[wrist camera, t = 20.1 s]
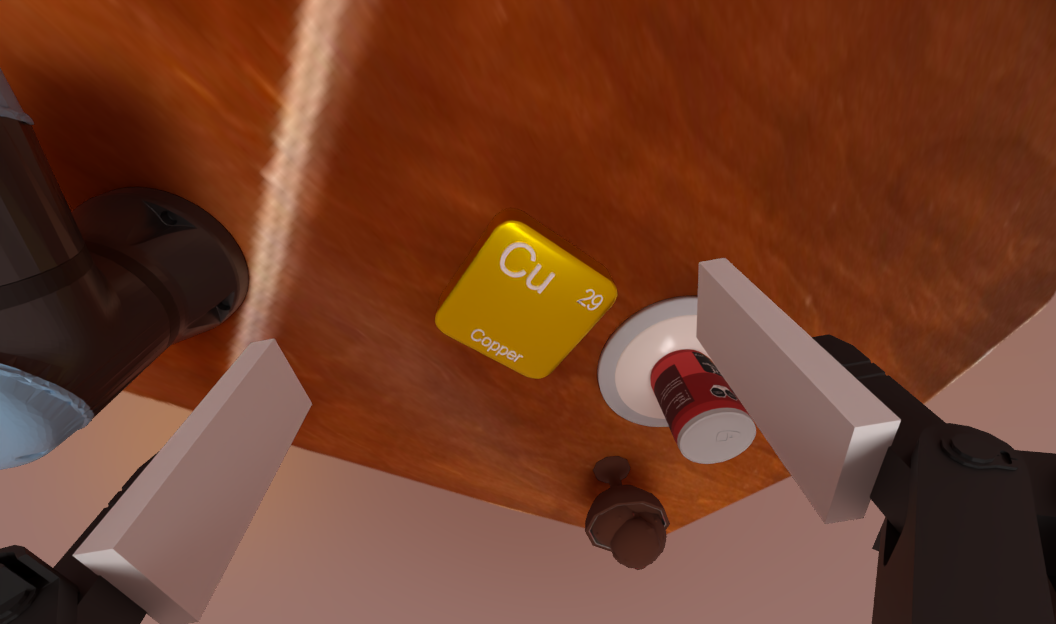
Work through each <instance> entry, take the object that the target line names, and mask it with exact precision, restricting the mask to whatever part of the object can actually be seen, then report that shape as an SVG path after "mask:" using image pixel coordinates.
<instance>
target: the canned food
mask: <svg viewBox="0 0 1056 624" xmlns="http://www.w3.org/2000/svg"><path fill="white" fill-rule="evenodd" d="M650 381H651V387H652V389H653V392H654V394H655V396H656V398H657V401H658V403H659V405H660V407H661V410H662V412H663V414H664V416H665V419H666V421H667V423H668V426H669V428H670V430H671V432H672V435H673V437H674V439H675V441H676V443H677V445H678V447H679V449H680V451H681V453H682V454H683V455H684V456H685V457H686V458H687V459H689V460H691V461H693V462H697V463H703V464H711V463H718V462H722V461H726V460H729V459H731V458H733V457H735V456H737V455H739V454H740V453H742V452H743V451H744V450H746V449H747V448H748V447H749V445H750V444H751V443H752V441H753V440H754V437H755V435H756V427H755V424H754V423H753V420H752V418H751V417H750V415H749V414H748V412H747V411H746V409H745V408H744V406H743V405H742V403H741V402H740V400H739V399H738V398H737V396H736V395H735V393H734V392H733V390H732V389H731V387H730V386H729V385H728V383H727V382H726V380H725V379H724V377H723V376H722V374H721V373H720V372H719V370H718V369H717V367H716V366H715V364H714V363H713V361H712V360H711V359H710V358H709V357H708V356H706V355H705V354H703V353H701V352H699V351H696V350H690V349H685V350H678V351H674V352H672V353H669V354H667V355H665V356H664V357H663V358H661V359H660V360H659V361H658V362H657V363H656V364H655V366H654V367H653V369H652V371H651V376H650Z"/></svg>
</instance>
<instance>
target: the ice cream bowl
mask: <svg viewBox="0 0 1056 624" xmlns="http://www.w3.org/2000/svg"><path fill="white" fill-rule="evenodd" d="M593 471H594V473H595V476H596V478H597V479H598V480H600V481H602V482H605V483H609V484H610V487H611V488H609V489H608V490H606V491H604V492H602V493H600V494H599V495H598V496H597V497H596V499H595V500H594V502H593V504H592V506H591V508H590V510H589V512H588V514H587V518H586V522H585V532H586V534H587V536H588V537H589V539H590V541H591V543H592V545H593V546H596V547H599V548H602V549H605V550H608V551H611V552H612V553H613V557H614V558H615V559H616V560H617V561H618V562H619V563H620V564H623V565H625V566H626V567H628V568H635V569H637V570H640V569H643V568H645V567H646V566H647V565H649V564H652V563H653V561H655V560H656V559H657V557H658V556H659V555H660V554H661V553H662V552H663V549H664V547H665V542H666V531H665V530H666V529H667V527H668V526H669V524H670V523H669V520H668V518H667V515H666V512H665V510H664V508H663V506H662V504H661V503H660V501H659V500H658V499H657V498H656V497H655V496H654V495H653V494H652V493H649V492H647V491H644V490H642V489H639V488H637V487H634V486H632V485H622V483H621V480H622V479H624V478H626V476H627V474H628V473H629V471H630V466H629V463H628V461H627V460H626V459H624V458H622V457H619V456H613V457H606V458H604V459H602V460H600V461H599V462H597V463H596V465H595V467H594V469H593Z"/></svg>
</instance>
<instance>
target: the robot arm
mask: <svg viewBox="0 0 1056 624" xmlns="http://www.w3.org/2000/svg"><path fill="white" fill-rule="evenodd" d="M31 125H34V122H33V120H32V118H31V117H30V116H28V115H27V114H26V113H24V112H23V110H22V108H21V106H20V104H19V102H18V101H17V99H16V97H15V95H14V93H13V91H12V89H11V87H10V85H9V84H8V82H7V80H6V78H5V76H4V74H3V72H2V70H1V69H0V470H1V469H7V468H12V467H17V466H21V465H24V464H27V463H30V462H33V461H35V460H37V459H39V458H41V457H43V456H45V455H46V454H48V453H49V452H50V451H52V450H53V449H55V448H56V447H57V446H58V445H59V444H61V443H62V442H63V441H64V440H66V439H67V438H68V437H69V436H71V435H72V434H73V433H74V432H76V431H77V430H79V429H82V428H84V427H85V426H87V425H88V423H89V422H90V421H92V419H93V418H94V417H95V416H96V415H97V414H98V413H99V412H100V411H101V410H102V409H103V408H104V407H105V406H106V405H108V404H109V403H110V402H111V401H112V400H113V399H114V398H115V397H116V396H117V395H118V394H119V393H120V392H121V391H122V390H123V389H125V388H126V387H127V386H128V385H129V384H130V383H131V382H132V381H133V380H134V379H135V378H136V377H137V376H138V375H139V374H140V373H141V372H143V371H144V370H145V369H146V368H147V367H148V366H149V365H150V364H151V363H152V362H153V361H154V360H155V359H156V358H157V357H158V356H159V355H160V354H161V353H162V352H164V351H165V350H166V349H167V348H168V347H169V346H170V345H172V344H174V343H177V342H180V341H182V340H185V339H187V338H190V337H192V336H195V335H198V334H200V333H203V332H205V331H208V330H210V329H213V328H215V327H216V326H218V325H220V324H221V323H223V322H224V321H225V320H226V319H227V318H228V317H229V316H230V315H231V314H232V313H233V312H235V311H236V310H237V308H238V307H239V306H240V305H241V303H242V302H243V300H244V298H245V296H246V293H247V289H248V270H247V266H246V262H245V259H244V257H243V254H242V252H241V250H240V248H239V247H238V245H237V243H236V242H235V240H234V239H233V238H232V236H231V235H230V234H229V233H228V231H227V230H226V229H225V228H224V227H223V226H222V225H221V224H220V223H219V222H218V221H217V220H216V219H214V218H213V217H212V216H211V215H210V214H208V213H207V212H205V211H204V210H203V209H201V208H200V207H198V206H196V205H195V204H193V203H191V202H189V201H187V200H185V199H183V198H181V197H179V196H176V195H173V194H171V193H168V192H164V191H161V190H156V189H151V188H143V187H128V188H120V189H116V190H112V191H109V192H107V193H104V194H101V195H99V196H96V197H93V198H91V199H89V200H87V201H86V202H84V203H82V204H81V205H80V206H78V207H77V208H76V209H75V210H74V211H73V212H72V213H71V211H70V209H69V207H68V204H67V202H66V200H65V198H64V196H63V193H62V191H61V189H60V187H59V185H58V183H57V180H56V178H55V176H54V174H53V172H52V169H51V167H50V165H49V163H48V161H47V158H46V156H45V154H44V152H43V150H42V148H41V145H40V143H39V141H38V139H37V137H36V134H35V132H34V130H33V128H32V126H31ZM696 338H697V339H698V341H699V342H700V344H701V345H702V346H703V348H704V349H705V351H706V352H707V354H708V355H709V357H710V358H711V359H712V361H713V362H714V364H715V365H716V367H717V368H718V370H719V371H720V373H721V374H722V375H723V377H724V378H725V380H726V381H727V383H728V384H729V386H730V387H731V389H732V390H733V391H734V393H735V394H736V396H737V397H738V399H739V400H740V402H741V403H742V404H743V406H744V407H745V409H746V410H747V412H748V413H749V415H750V416H751V418H752V419H753V420H754V422H755V423H756V425H757V426H758V428H759V429H760V431H761V432H762V434H763V435H764V436H765V438H766V439H767V441H768V442H769V444H770V445H771V447H772V448H773V449H774V451H775V452H776V454H777V455H778V457H779V458H780V460H781V461H782V463H783V464H784V465H785V467H786V468H787V470H788V471H789V473H790V474H791V476H792V477H793V479H794V480H795V481H796V483H797V484H798V486H799V487H800V489H801V490H802V492H803V493H804V494H805V496H806V497H807V499H808V500H809V502H810V503H811V505H812V506H813V507H814V509H815V510H816V512H817V513H818V515H819V516H820V517H821V519H822V521H823V522H824V523H825V524H829V523H835V522H841V521H848V520H854V519H861V518H864V516H865V513H866V510H867V508H868V505H869V502H870V500H872V501H873V502H874V503H875V505H876V506H877V507H878V508H879V509H880V511H881V512H882V513H883V514H884V515H885V520H884V522H883V524H882V527H881V529H880V532H879V534H878V536H877V538H876V541H875V543H874V546H873V548H872V549H875V550H877V551H879V557H878V567H877V578H876V587H875V597H874V608H873V617H872V624H1056V454H1053V453H1042V452H1030V451H1019V450H1014V449H1013V448H1012V447H1011V446H1010V445H1008V444H1007V443H1005V442H1004V441H1002V440H1000V439H998V438H996V437H995V436H993V435H991V434H989V433H987V432H984V431H981V430H978V429H975V428H972V427H969V426H963V425H958V424H951V423H945V422H944V421H943V420H941V419H940V418H939V417H938V416H937V415H935V414H934V413H933V412H932V411H931V410H929V409H928V408H927V407H926V406H925V405H924V404H922V403H921V402H920V401H919V400H918V399H916V398H915V397H914V396H913V395H912V394H910V393H909V392H908V391H907V390H906V389H904V388H903V387H902V386H901V385H900V384H898V383H897V382H896V381H895V380H894V379H892V378H891V377H890V376H889V375H888V376H886V375H885V372H884V371H883V370H882V369H880V368H879V367H878V366H877V365H876V364H874V363H871V362H870V359H868V358H867V357H866V356H865V355H864V354H862V353H861V352H860V351H859V350H858V349H856V348H855V347H854V346H853V345H851V344H849V343H846V342H844V341H842V340H840V339H838V338H836V337H834V336H831V335H823V336H817V337H810V336H809V335H808V334H807V333H806V332H805V331H804V330H803V329H802V328H801V327H800V326H799V325H797V324H796V323H795V322H794V321H793V320H792V319H791V318H790V317H789V316H788V315H787V314H785V313H784V312H783V311H782V310H781V309H780V308H779V307H778V306H777V305H776V304H775V303H773V302H772V301H771V300H770V299H769V298H768V297H767V296H766V295H765V294H764V293H763V292H762V291H760V290H759V289H758V288H757V287H756V286H755V285H754V284H753V283H752V282H751V281H750V280H748V279H747V278H746V277H745V276H744V275H743V274H742V273H741V272H740V271H739V270H738V269H737V268H735V267H734V266H733V265H732V264H731V263H730V262H729V261H728V260H727V259H726V258H720V259H715V260H709V261H704V262H699V277H698V304H697V330H696ZM311 405H312V403H311V401H310V399H309V397H308V396H307V394H306V392H305V390H304V389H303V387H302V385H301V384H300V382H299V380H298V378H297V377H296V375H295V373H294V371H293V370H292V368H291V366H290V365H289V363H288V361H287V359H286V358H285V356H284V354H283V352H282V351H281V349H280V347H279V346H278V344H277V342H276V340H275V339H269V340H263V341H257V342H252V343H250V344H249V345H248V346H247V348H246V349H245V350H244V351H243V352H242V354H241V355H240V356H239V357H238V358H237V359H236V361H235V362H234V363H233V364H232V365H231V367H230V368H229V369H228V370H227V371H226V373H225V374H224V375H223V376H222V377H221V379H220V380H219V381H218V382H217V383H216V385H215V386H214V387H213V388H212V389H211V390H210V392H209V393H208V394H207V395H206V396H205V398H204V399H203V400H202V401H201V402H200V404H199V405H198V406H197V407H196V408H195V410H194V411H193V412H192V413H191V414H190V416H189V417H188V418H187V419H186V420H185V422H184V423H183V424H182V425H181V426H180V427H179V429H178V430H177V431H176V432H175V433H174V435H173V436H172V437H171V438H170V439H169V441H168V442H167V443H166V444H165V445H164V447H163V448H162V449H161V450H160V451H159V452H158V453H157V454H155V455H154V456H153V457H152V458H150V459H149V460H148V461H147V462H146V463H144V464H143V465H142V466H141V467H139V469H137V471H136V472H135V473H134V474H133V475H132V476H131V478H130V479H129V480H128V481H127V482H126V483H125V485H124V486H123V487H122V491H119V492H118V493H117V494H116V495H115V496H114V498H113V499H112V500H111V501H110V502H109V503H108V505H109V506H108V507H107V508H104V509H103V510H102V511H101V513H100V514H99V515H98V516H97V517H96V519H95V520H94V521H93V522H92V523H91V524H90V526H89V527H88V528H87V529H86V530H85V531H84V533H83V534H82V535H81V536H80V537H79V538H78V540H77V541H76V542H75V543H74V544H73V546H72V547H71V548H70V549H69V550H68V551H67V553H66V554H65V555H64V556H63V557H62V558H61V560H60V561H59V562H58V563H57V564H56V565H55V566H54V568H52V567H51V566H49V565H48V564H46V563H45V562H44V561H42V560H41V559H40V558H38V557H37V556H36V555H34V554H33V553H32V552H30V551H29V550H28V549H26V548H25V547H22V546H17V545H13V546H9V547H5V548H2V549H0V624H140V623H141V621H142V620H143V618H144V617H145V615H146V613H147V614H148V615H149V616H150V617H152V618H153V619H154V620H156V621H157V622H158V623H160V624H188V623H194V622H199V620H200V618H201V616H202V614H203V612H204V610H205V609H206V607H207V605H208V603H209V601H210V599H211V596H212V595H213V593H214V591H215V589H216V588H217V586H218V584H219V582H220V580H221V578H222V576H223V574H224V572H225V570H226V568H227V566H228V564H229V562H230V561H231V559H232V557H233V555H234V553H235V551H236V549H237V547H238V545H239V543H240V541H241V540H242V538H243V536H244V533H245V532H246V530H247V528H248V526H249V524H250V522H251V520H252V518H253V516H254V514H255V513H256V511H257V509H258V507H259V505H260V503H261V501H262V499H263V497H264V495H265V493H266V491H267V490H268V488H269V486H270V484H271V482H272V480H273V478H274V476H275V474H276V472H277V470H278V468H279V467H280V465H281V463H282V461H283V459H284V457H285V455H286V453H287V451H288V449H289V447H290V445H291V444H292V442H293V440H294V438H295V436H296V434H297V432H298V430H299V428H300V426H301V424H302V422H303V420H304V419H305V417H306V415H307V413H308V411H309V409H310V407H311Z"/></svg>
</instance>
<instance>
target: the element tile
mask: <svg viewBox="0 0 1056 624" xmlns="http://www.w3.org/2000/svg"><path fill="white" fill-rule="evenodd" d="M616 298H617V288H616V286H615V284H614V282H613V280H612V278H611V276H610V274H609V272H608V270H607V269H606V268H605V267H604V266H603V265H602V264H600V263H599V262H597V261H596V260H594V259H593V258H591V257H590V256H589V255H587V254H586V253H584V252H583V251H581V250H580V249H578V248H577V247H575V246H574V245H572V244H571V243H569V242H568V241H566V240H565V239H563V238H562V237H560V236H559V235H557V234H556V233H555V232H553V231H552V230H550V229H549V228H547V227H546V226H544V225H543V224H541V223H540V222H538V221H537V220H535V219H534V218H532V217H531V216H529V215H528V214H526V213H525V212H523V211H521V210H519V209H514V208H508V209H504V210H502V211H501V212H499V213H498V214H496V215H495V217H494V218H493V219H492V221H491V222H490V224H489V225H488V227H487V228H486V230H485V231H484V233H483V234H482V235H481V237H480V238H479V240H478V241H477V243H476V244H475V246H474V247H473V249H472V250H471V251H470V253H469V254H468V256H467V257H466V259H465V260H464V262H463V263H462V265H461V266H460V267H459V269H458V270H457V272H456V273H455V275H454V276H453V278H452V279H451V281H450V282H449V283H448V285H447V286H446V288H445V289H444V291H443V292H442V294H441V296H440V298H439V302H438V306H437V310H436V315H435V323H436V326H437V328H438V329H439V330H440V331H441V332H442V333H444V334H445V335H447V336H449V337H451V338H453V339H455V340H457V341H458V342H460V343H462V344H464V345H466V346H468V347H470V348H472V349H474V350H476V351H478V352H480V353H482V354H483V355H485V356H487V357H489V358H491V359H493V360H495V361H497V362H499V363H501V364H503V365H505V366H507V367H508V368H510V369H512V370H514V371H516V372H518V373H520V374H522V375H524V376H526V377H529V378H533V379H540V378H544V377H546V376H548V375H549V374H550V373H552V371H553V370H554V369H555V368H556V367H557V366H558V365H559V364H560V363H561V362H562V360H563V359H564V358H565V357H566V356H567V355H568V354H569V353H570V352H571V351H572V349H573V348H574V347H575V346H576V345H577V344H578V343H579V342H580V341H581V340H582V338H583V337H584V336H585V335H586V334H587V333H588V332H589V331H590V330H591V329H592V327H593V326H594V325H595V324H596V323H597V322H598V321H599V320H600V319H601V317H602V316H603V315H604V314H605V313H606V312H607V311H608V310H609V309H610V308H611V306H612V305H613V304H614V302H615V300H616Z"/></svg>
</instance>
